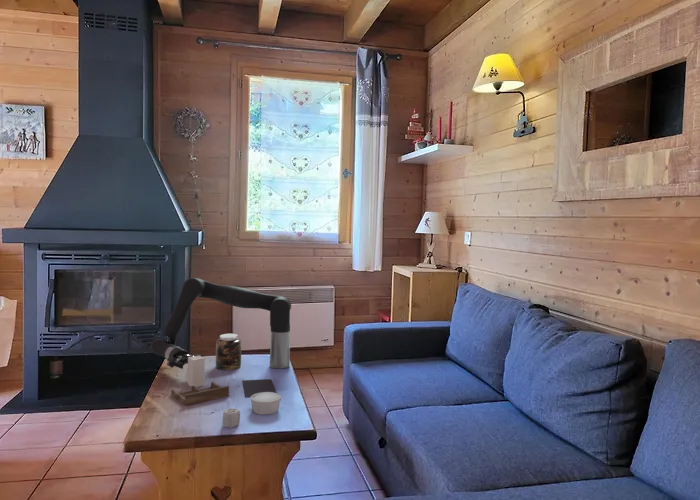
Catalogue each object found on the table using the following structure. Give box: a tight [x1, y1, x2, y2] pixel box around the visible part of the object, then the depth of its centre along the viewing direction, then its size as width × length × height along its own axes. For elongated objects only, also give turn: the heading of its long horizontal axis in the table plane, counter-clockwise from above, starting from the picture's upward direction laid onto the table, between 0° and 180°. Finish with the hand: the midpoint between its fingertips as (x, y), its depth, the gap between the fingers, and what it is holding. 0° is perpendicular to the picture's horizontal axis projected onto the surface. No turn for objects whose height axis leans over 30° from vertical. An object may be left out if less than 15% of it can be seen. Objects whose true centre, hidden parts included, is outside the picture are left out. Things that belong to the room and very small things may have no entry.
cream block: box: [187, 355, 206, 388], centre depth 214 cm, size 5×5×12 cm
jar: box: [215, 333, 242, 371], centre depth 243 cm, size 12×12×15 cm
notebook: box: [241, 378, 277, 399], centre depth 213 cm, size 13×2×21 cm
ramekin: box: [250, 392, 282, 416], centre depth 191 cm, size 11×11×5 cm
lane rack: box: [170, 381, 230, 407], centre depth 201 cm, size 14×17×5 cm
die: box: [221, 407, 241, 429], centre depth 177 cm, size 5×5×5 cm
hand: (192, 364), depth 216 cm, fingers open, 8 cm apart
